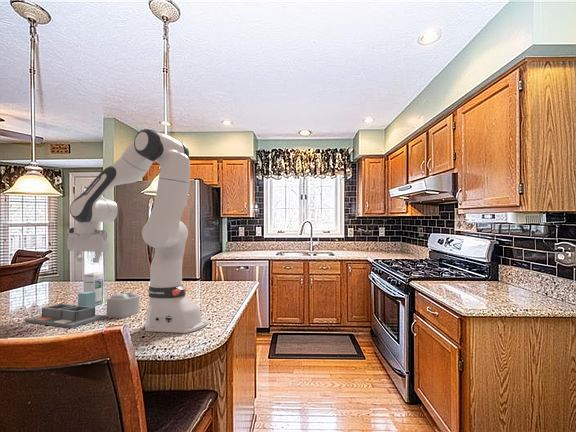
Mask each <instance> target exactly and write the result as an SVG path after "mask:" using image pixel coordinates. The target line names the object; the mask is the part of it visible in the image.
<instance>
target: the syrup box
mask: <svg viewBox="0 0 576 432" xmlns="http://www.w3.org/2000/svg"><path fill="white" fill-rule="evenodd" d="M87 291H90V292H95V306H98V305H101V304H104V273H103V272H99V271H98V272H90V273H84V274H83V292H87Z"/></svg>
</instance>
